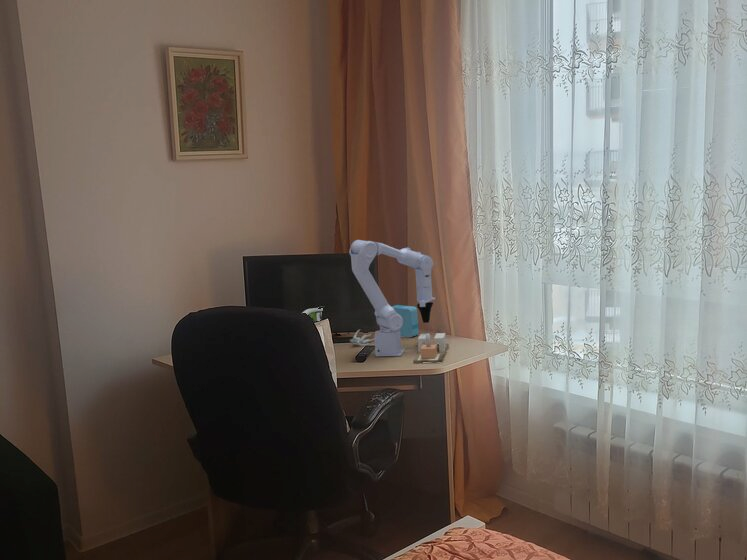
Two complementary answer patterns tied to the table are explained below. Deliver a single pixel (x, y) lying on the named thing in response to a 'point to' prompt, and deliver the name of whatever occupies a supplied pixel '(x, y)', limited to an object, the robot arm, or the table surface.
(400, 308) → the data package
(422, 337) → the grey tunnel
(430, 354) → the sled block
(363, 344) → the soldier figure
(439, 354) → the walnut board
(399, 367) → the table surface
